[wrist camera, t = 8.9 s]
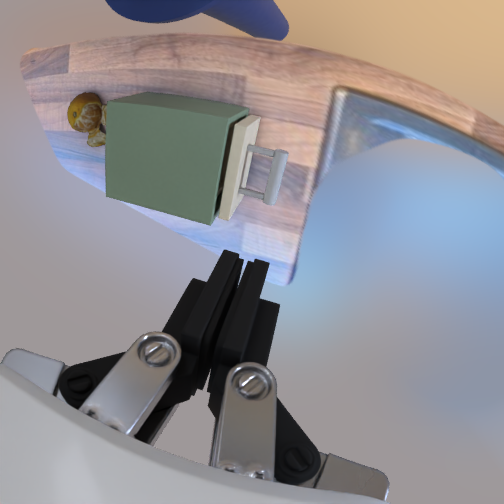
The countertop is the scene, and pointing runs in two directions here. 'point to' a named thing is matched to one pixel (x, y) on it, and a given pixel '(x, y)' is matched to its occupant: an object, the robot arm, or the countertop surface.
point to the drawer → (246, 167)
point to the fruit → (88, 117)
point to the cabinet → (168, 152)
